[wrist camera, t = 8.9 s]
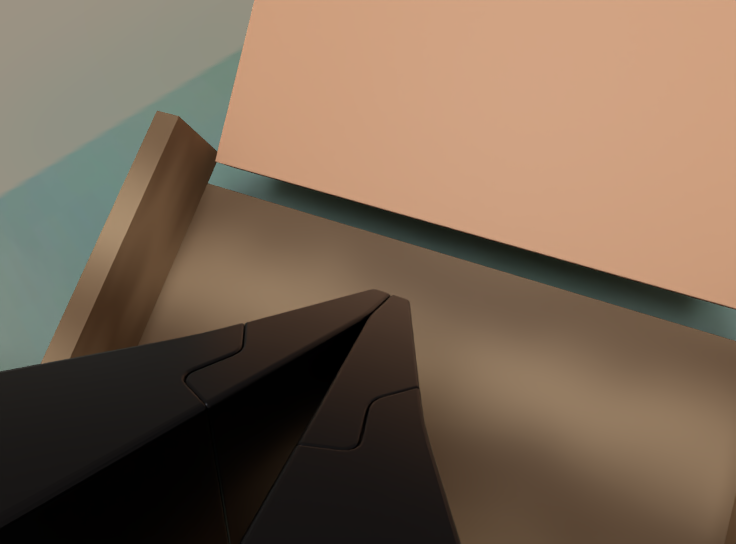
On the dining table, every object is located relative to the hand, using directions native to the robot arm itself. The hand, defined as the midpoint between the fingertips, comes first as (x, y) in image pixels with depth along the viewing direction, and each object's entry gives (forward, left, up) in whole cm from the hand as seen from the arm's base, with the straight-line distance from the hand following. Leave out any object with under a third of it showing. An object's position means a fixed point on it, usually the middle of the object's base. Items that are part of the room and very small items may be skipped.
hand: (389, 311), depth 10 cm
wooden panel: (+4, +1, -7) cm, 8 cm away
